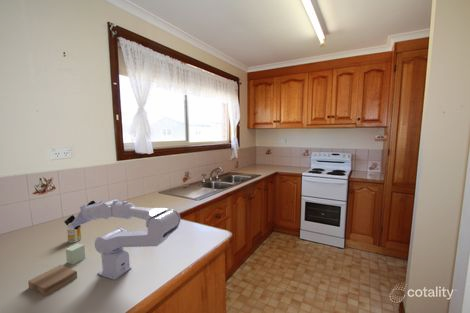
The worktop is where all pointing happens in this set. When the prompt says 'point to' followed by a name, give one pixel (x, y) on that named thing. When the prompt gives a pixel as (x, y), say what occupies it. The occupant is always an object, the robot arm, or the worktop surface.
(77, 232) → the supplement bottle
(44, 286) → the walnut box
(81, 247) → the sage-green block
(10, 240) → the worktop surface
